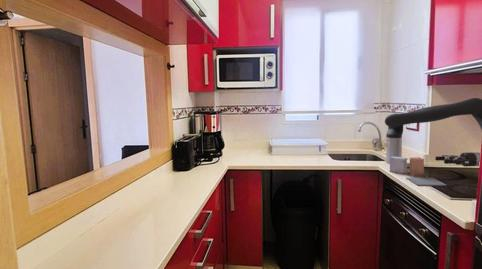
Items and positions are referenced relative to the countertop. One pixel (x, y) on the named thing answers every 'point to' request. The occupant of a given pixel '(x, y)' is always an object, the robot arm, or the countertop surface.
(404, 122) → the robot arm
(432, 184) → the slate mat
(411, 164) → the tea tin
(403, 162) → the medicine box
